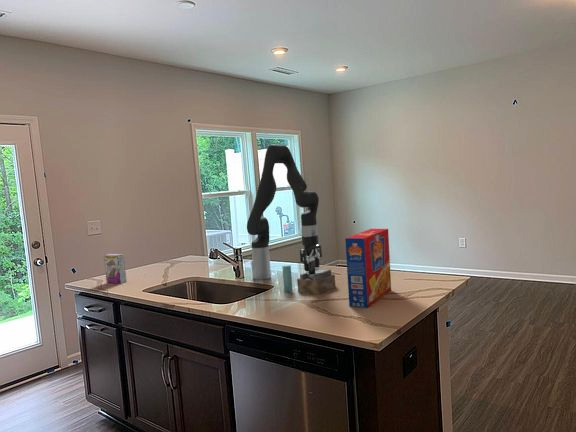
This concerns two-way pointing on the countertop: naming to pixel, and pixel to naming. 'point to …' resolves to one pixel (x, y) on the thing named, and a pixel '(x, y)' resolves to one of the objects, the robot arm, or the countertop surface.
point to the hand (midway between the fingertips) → (312, 269)
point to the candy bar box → (115, 268)
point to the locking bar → (313, 269)
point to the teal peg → (287, 278)
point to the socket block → (316, 282)
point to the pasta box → (368, 267)
